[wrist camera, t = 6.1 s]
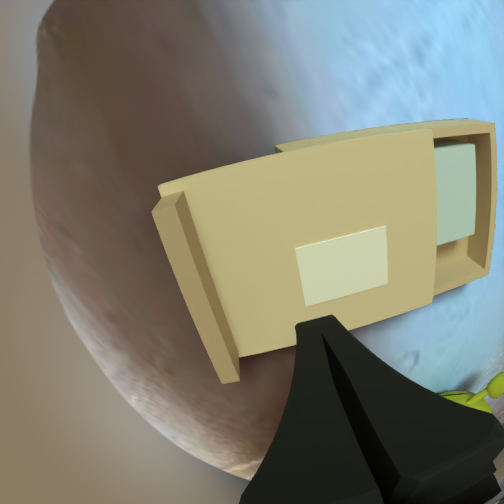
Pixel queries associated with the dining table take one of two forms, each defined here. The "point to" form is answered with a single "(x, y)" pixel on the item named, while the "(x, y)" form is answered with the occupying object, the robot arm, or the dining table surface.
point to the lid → (303, 241)
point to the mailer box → (451, 193)
